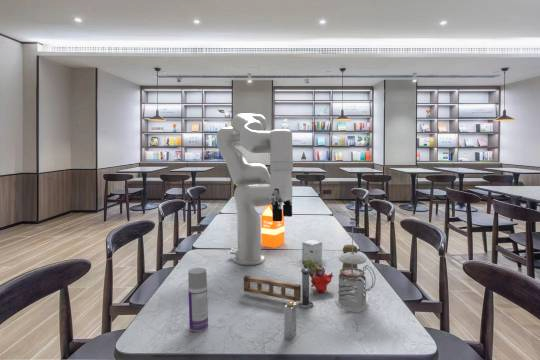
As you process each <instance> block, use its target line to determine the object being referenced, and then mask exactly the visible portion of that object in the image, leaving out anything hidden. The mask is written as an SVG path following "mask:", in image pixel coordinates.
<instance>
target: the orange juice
mask: <svg viewBox="0 0 540 360" xmlns="http://www.w3.org/2000/svg"><path fill="white" fill-rule="evenodd" d="M260 215H261V216H260V219H261V247H268V248H277V247H279V246H282V245H284V244H285V216H283V210H282V221H281V222H280V221H273V218H272V205H269V206H265V208H264V210H263V211H262V213H261V214H260Z"/></svg>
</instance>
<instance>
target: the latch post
mask: <svg viewBox="0 0 540 360" xmlns="http://www.w3.org/2000/svg"><path fill="white" fill-rule="evenodd" d="M283 327H284V328H283V329H284V331H283V336H284V338H283V339H285V340H288V341H293V340H294V339H295V337H296V335H297V302H295V301H293V300H287V302H286V304H285V305H284V307H283Z"/></svg>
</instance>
